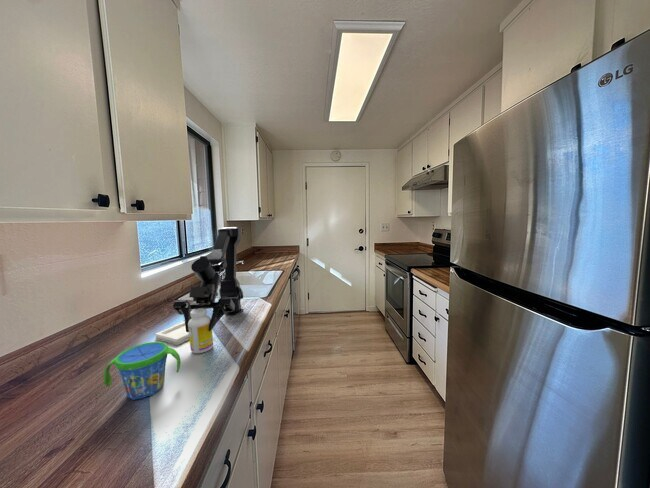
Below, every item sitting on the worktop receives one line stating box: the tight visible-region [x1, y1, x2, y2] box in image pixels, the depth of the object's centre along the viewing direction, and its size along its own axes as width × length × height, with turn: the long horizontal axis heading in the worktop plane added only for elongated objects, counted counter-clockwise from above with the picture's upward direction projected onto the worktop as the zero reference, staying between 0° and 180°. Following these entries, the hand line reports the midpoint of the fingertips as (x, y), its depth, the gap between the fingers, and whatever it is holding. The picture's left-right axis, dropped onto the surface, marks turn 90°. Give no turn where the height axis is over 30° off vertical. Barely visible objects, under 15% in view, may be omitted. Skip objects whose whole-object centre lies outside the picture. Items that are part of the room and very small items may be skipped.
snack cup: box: [103, 341, 181, 401], centre depth 62 cm, size 16×10×10 cm
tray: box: [155, 321, 190, 346], centre depth 93 cm, size 12×12×2 cm
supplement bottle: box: [188, 308, 214, 354], centre depth 80 cm, size 7×7×13 cm
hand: (198, 331), depth 79 cm, fingers closed on supplement bottle, 7 cm apart
